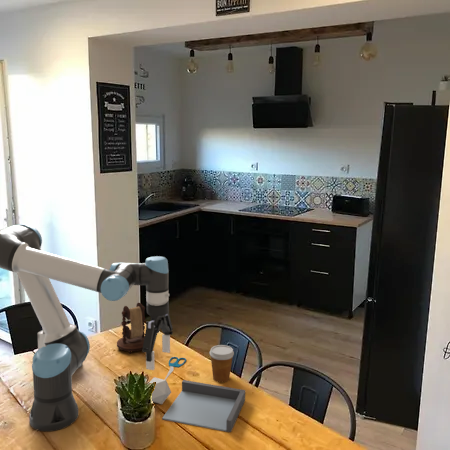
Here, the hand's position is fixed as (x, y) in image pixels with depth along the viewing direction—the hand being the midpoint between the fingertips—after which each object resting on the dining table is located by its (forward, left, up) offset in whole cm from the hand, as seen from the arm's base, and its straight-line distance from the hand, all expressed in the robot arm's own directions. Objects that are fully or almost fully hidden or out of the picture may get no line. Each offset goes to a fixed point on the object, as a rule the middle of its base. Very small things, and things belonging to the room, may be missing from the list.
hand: (158, 360), depth 161 cm
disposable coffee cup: (+22, -17, -16) cm, 32 cm away
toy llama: (+11, +46, -16) cm, 50 cm away
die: (0, 0, -16) cm, 16 cm away
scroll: (+37, +28, -16) cm, 49 cm away
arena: (0, -17, -15) cm, 23 cm away
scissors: (+23, +4, -16) cm, 28 cm away
